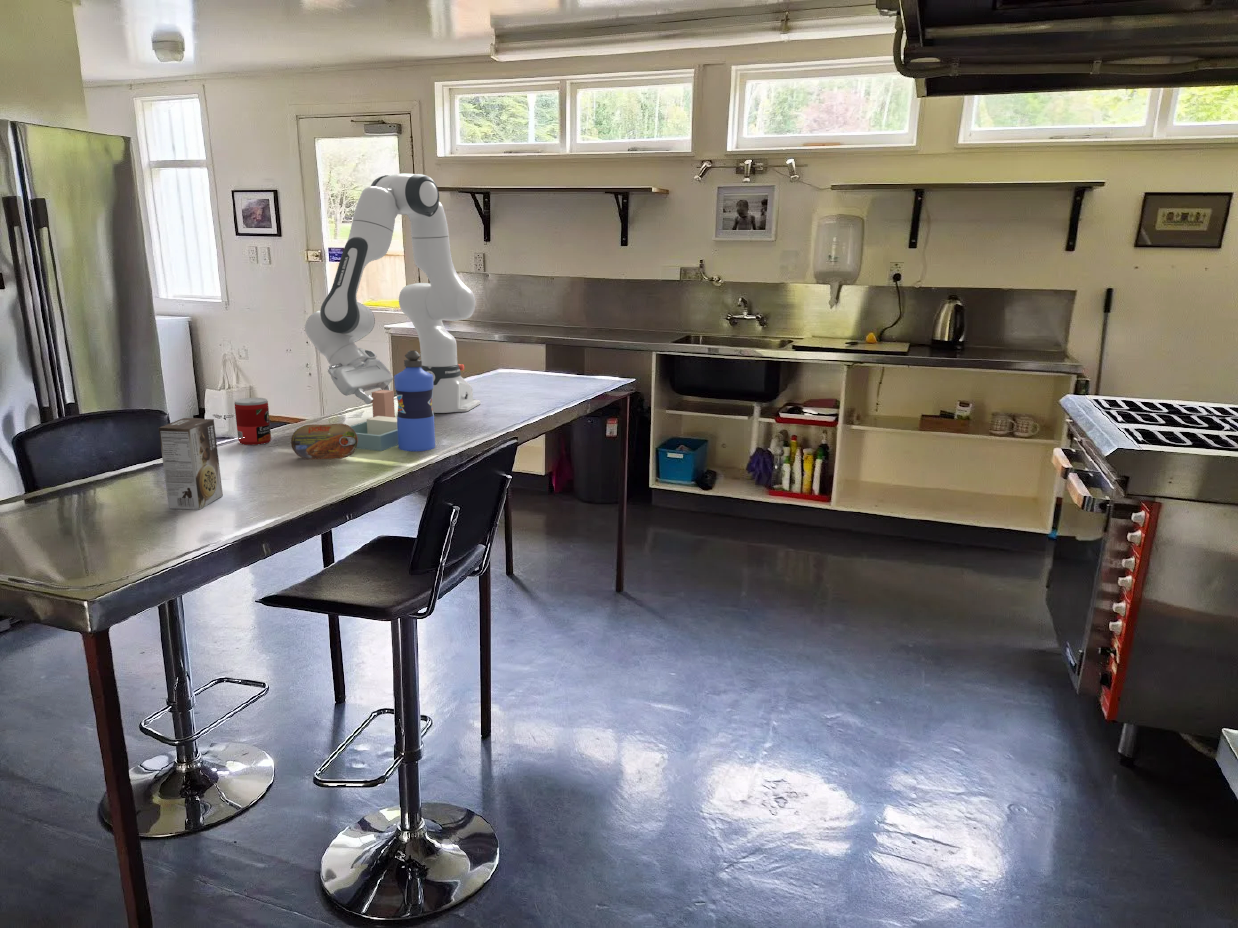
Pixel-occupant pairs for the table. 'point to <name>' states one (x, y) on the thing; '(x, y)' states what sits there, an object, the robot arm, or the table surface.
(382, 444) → the tote
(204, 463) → the cookie box
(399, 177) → the robot arm
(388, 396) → the salmon brown rectangular block
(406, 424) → the water bottle
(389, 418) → the beige rectangular block
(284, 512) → the table surface
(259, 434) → the canned food
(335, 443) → the tin
